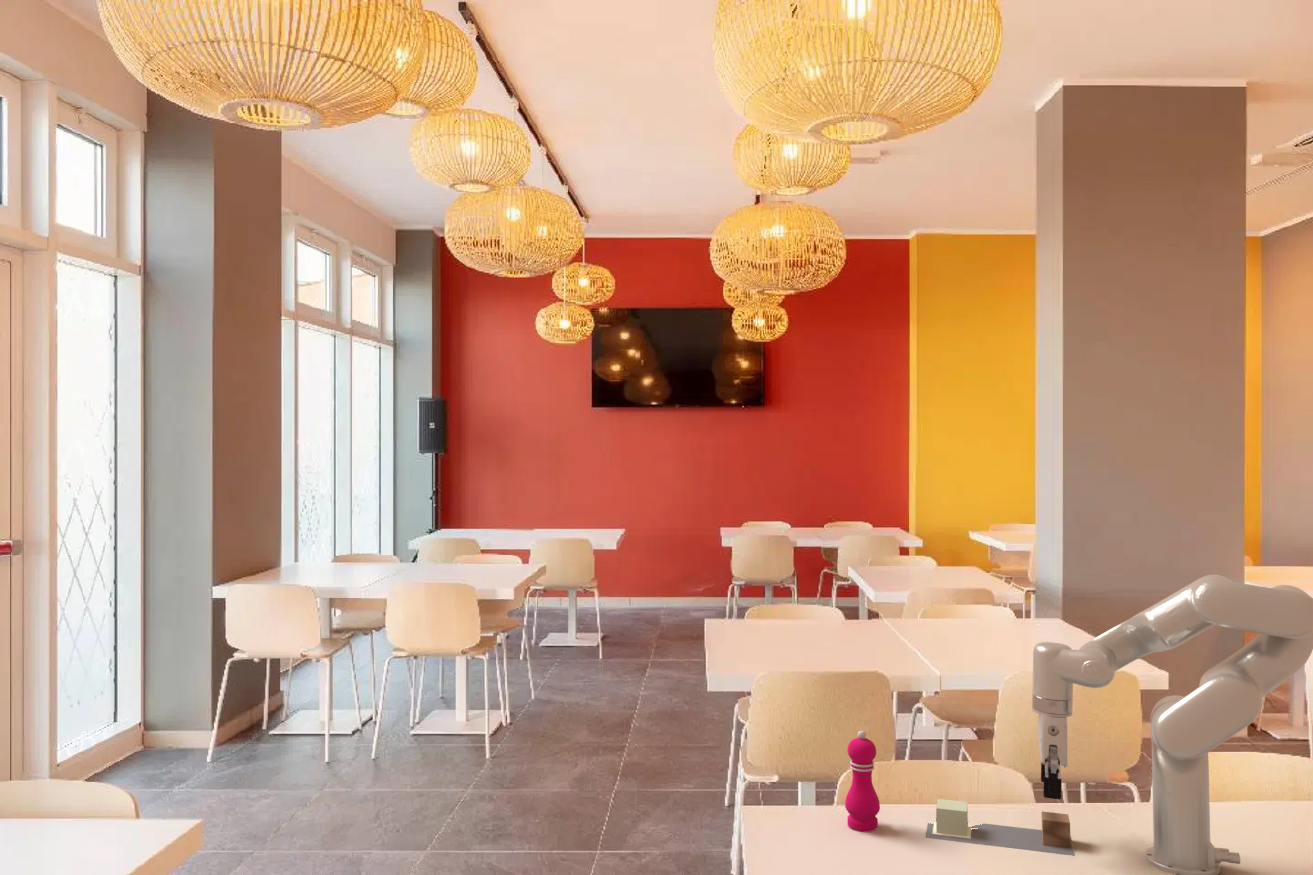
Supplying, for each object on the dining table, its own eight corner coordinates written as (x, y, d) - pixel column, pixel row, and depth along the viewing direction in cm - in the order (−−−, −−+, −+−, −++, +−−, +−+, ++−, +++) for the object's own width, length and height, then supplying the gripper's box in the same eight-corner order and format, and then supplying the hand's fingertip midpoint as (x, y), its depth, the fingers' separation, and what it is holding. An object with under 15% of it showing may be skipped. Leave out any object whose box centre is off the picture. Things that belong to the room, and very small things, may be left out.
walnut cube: (1068, 839, 191) (1068, 814, 192) (1070, 848, 187) (1070, 822, 187) (1042, 835, 193) (1041, 811, 193) (1043, 845, 188) (1042, 819, 189)
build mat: (1069, 835, 195) (1069, 832, 195) (1074, 857, 183) (1074, 854, 183) (928, 818, 204) (928, 816, 204) (925, 839, 193) (925, 836, 193)
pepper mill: (880, 833, 195) (879, 736, 196) (845, 831, 197) (844, 734, 198) (879, 821, 203) (878, 727, 203) (845, 818, 204) (844, 725, 205)
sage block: (967, 825, 198) (967, 801, 199) (967, 836, 193) (966, 811, 193) (937, 822, 200) (937, 798, 201) (936, 832, 195) (936, 808, 195)
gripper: (1076, 717, 182) (1074, 807, 181) (1069, 697, 198) (1067, 779, 198) (1034, 713, 184) (1032, 801, 184) (1030, 693, 200) (1029, 774, 200)
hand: (1050, 790), depth 191 cm, fingers open, 9 cm apart
